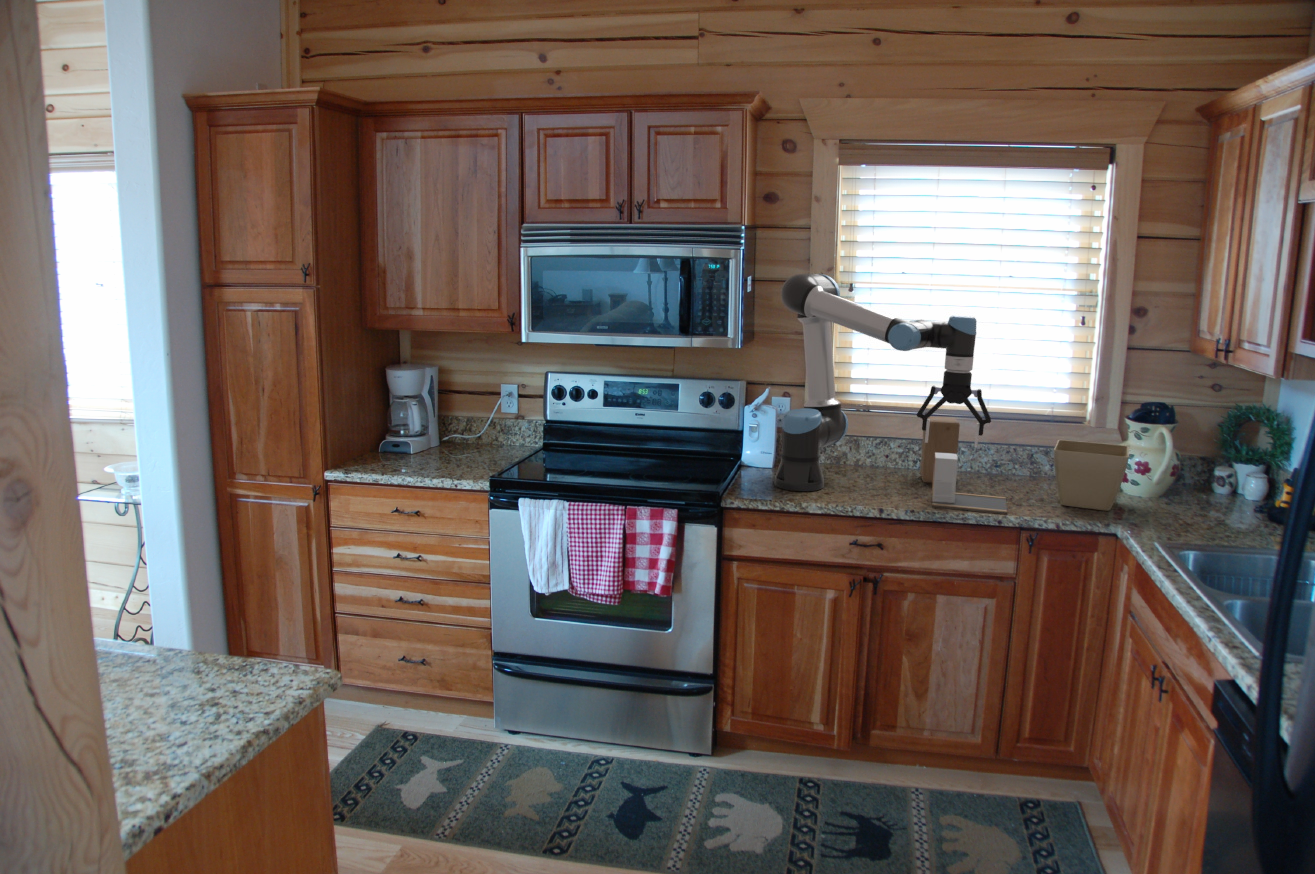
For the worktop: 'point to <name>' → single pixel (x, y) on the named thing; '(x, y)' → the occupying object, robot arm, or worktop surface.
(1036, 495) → the worktop surface
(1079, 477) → the flower pot
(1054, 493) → the worktop surface
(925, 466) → the wooden block
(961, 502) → the grey flat board
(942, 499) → the small box
